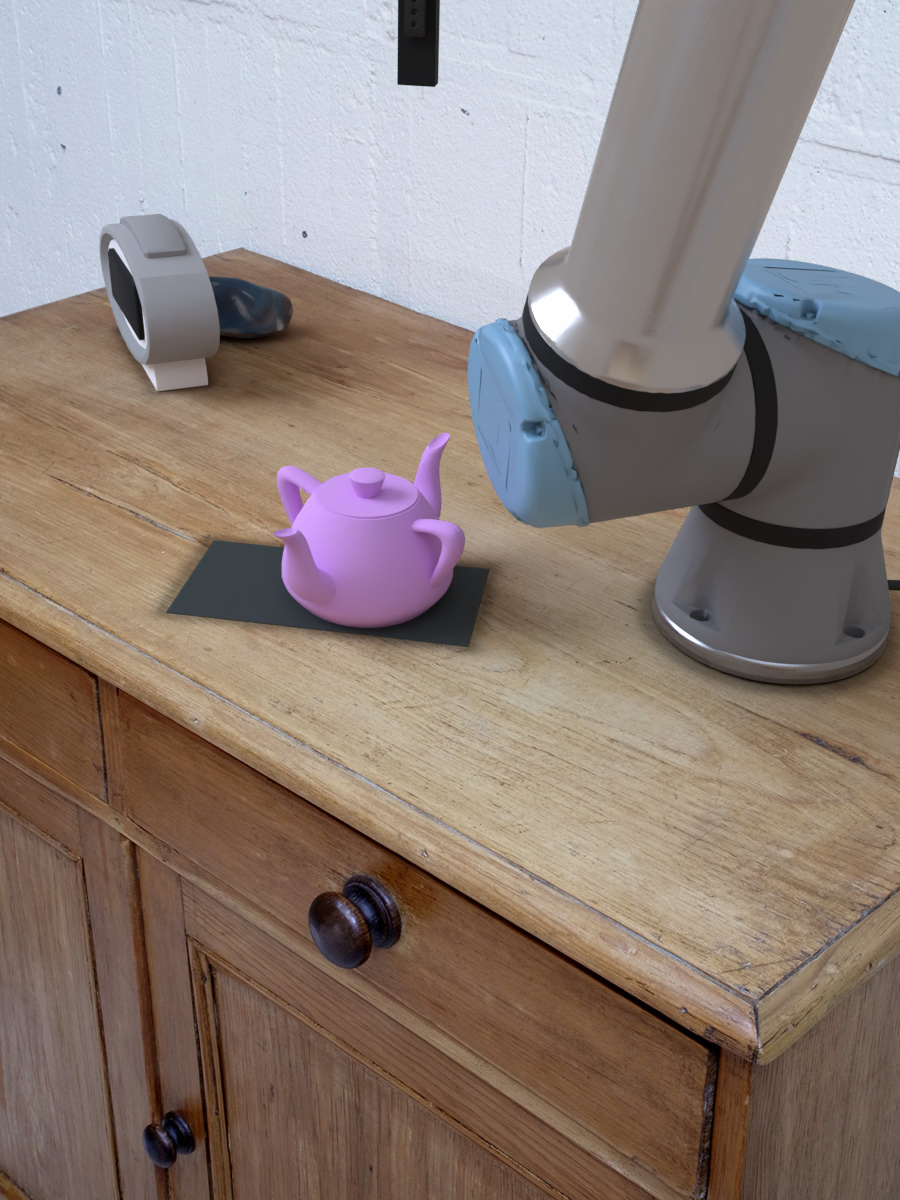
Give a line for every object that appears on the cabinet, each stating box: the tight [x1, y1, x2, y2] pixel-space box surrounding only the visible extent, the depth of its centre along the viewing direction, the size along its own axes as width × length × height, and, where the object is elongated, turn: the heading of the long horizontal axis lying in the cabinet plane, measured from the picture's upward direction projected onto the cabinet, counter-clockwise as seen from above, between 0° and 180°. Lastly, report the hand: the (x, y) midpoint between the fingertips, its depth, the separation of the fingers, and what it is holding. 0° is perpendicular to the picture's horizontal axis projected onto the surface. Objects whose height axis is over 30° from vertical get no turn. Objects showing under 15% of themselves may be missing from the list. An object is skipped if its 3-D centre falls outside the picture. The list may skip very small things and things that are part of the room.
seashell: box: [208, 275, 294, 340], centre depth 130 cm, size 6×9×10 cm
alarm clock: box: [98, 213, 221, 392], centre depth 121 cm, size 23×6×13 cm, turn 23°
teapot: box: [272, 432, 466, 628], centre depth 86 cm, size 12×14×9 cm
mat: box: [165, 539, 490, 648], centre depth 89 cm, size 20×10×1 cm, turn 81°
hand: (417, 83), depth 94 cm, fingers closed
